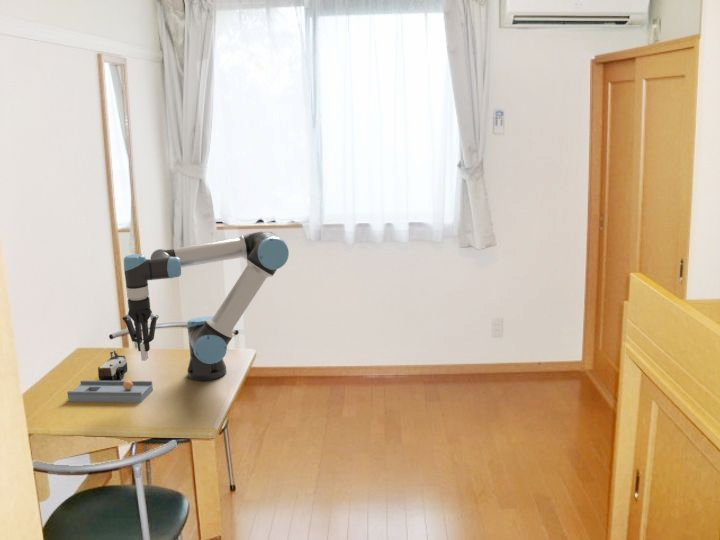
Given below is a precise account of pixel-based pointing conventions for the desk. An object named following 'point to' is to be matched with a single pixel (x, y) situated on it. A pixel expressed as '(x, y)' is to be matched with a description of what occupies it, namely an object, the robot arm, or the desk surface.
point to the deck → (110, 391)
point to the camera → (113, 368)
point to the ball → (127, 385)
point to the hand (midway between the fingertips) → (145, 359)
